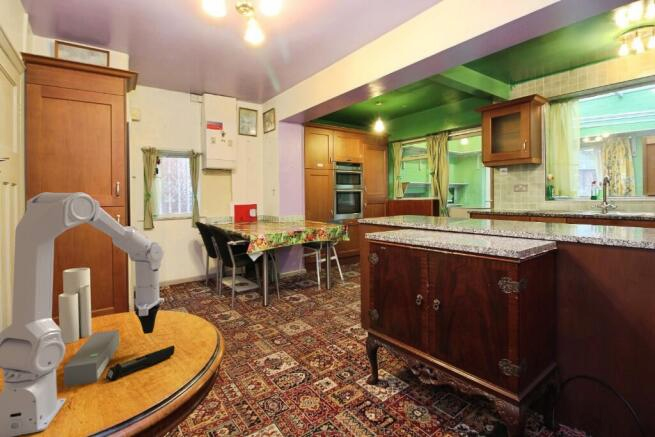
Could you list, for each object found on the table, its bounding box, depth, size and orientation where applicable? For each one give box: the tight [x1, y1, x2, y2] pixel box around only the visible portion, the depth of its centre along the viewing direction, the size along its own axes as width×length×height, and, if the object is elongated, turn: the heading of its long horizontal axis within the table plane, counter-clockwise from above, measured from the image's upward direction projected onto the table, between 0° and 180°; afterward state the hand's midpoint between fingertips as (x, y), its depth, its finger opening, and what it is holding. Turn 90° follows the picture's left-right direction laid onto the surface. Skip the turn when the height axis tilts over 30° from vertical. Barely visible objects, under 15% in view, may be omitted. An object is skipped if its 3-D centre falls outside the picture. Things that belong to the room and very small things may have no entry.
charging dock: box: [63, 329, 120, 388], centre depth 81 cm, size 20×6×5 cm, turn 21°
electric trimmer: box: [105, 345, 176, 382], centre depth 79 cm, size 4×16×3 cm, turn 143°
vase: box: [58, 267, 92, 345], centre depth 97 cm, size 11×7×20 cm, turn 30°
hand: (148, 332), depth 88 cm, fingers closed
